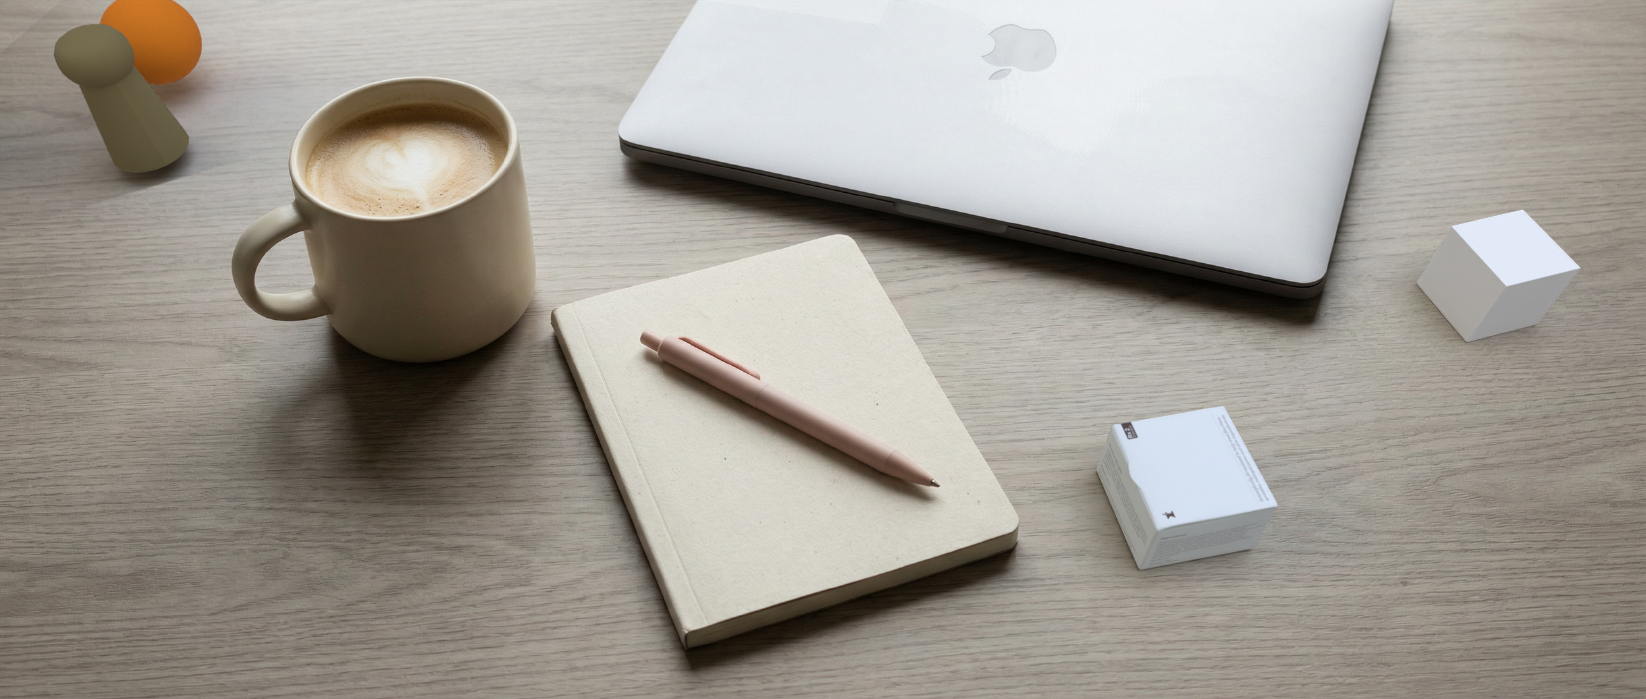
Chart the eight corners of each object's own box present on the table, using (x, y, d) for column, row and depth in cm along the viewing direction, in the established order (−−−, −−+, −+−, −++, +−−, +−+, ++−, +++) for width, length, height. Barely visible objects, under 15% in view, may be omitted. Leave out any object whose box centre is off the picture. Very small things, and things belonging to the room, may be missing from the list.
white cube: (1466, 342, 80) (1506, 286, 75) (1415, 283, 84) (1450, 225, 79) (1537, 324, 81) (1581, 267, 76) (1484, 266, 85) (1522, 208, 80)
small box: (1255, 550, 69) (1282, 507, 65) (1136, 573, 68) (1156, 531, 64) (1204, 448, 74) (1226, 402, 70) (1092, 467, 73) (1107, 422, 69)
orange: (106, 95, 97) (60, 20, 91) (159, 43, 102) (118, -31, 96) (184, 108, 96) (142, 33, 90) (233, 55, 101) (197, -19, 95)
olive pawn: (107, 137, 94) (36, 25, 85) (184, 116, 95) (121, 4, 87) (115, 181, 90) (41, 69, 82) (194, 158, 92) (130, 46, 83)
